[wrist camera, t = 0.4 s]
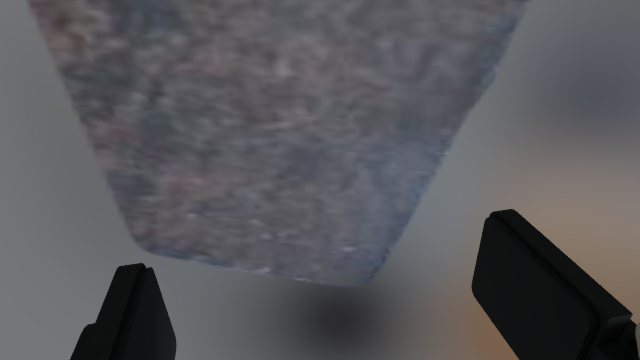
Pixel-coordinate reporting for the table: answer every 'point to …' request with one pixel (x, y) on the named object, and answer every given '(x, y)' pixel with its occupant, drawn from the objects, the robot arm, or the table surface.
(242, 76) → the table surface
